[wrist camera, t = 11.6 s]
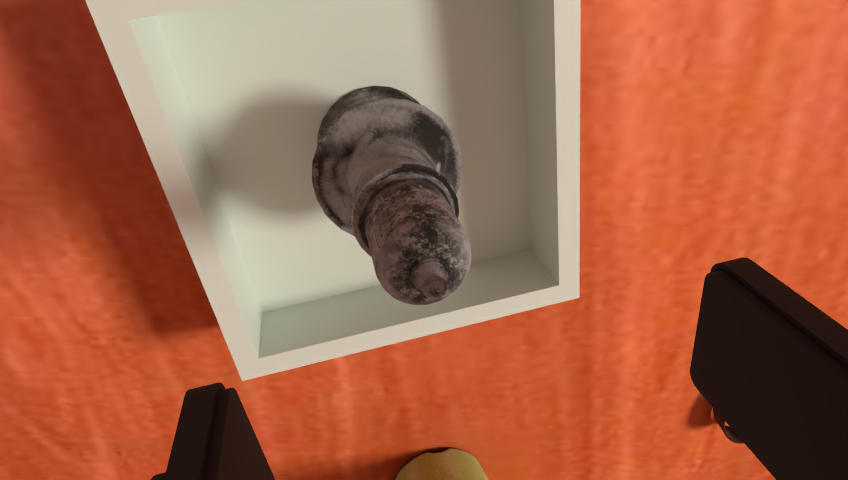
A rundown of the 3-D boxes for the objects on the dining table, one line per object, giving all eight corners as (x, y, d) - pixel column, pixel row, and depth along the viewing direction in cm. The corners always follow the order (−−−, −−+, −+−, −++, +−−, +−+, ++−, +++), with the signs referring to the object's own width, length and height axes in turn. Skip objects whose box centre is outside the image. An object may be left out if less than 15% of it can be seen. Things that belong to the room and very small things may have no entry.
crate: (122, -18, 20) (81, -10, 16) (529, -84, 22) (580, -91, 18) (249, 321, 28) (242, 381, 24) (542, 252, 30) (579, 297, 26)
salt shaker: (300, 196, 24) (302, 379, 14) (321, 64, 22) (343, 168, 12) (424, 214, 26) (508, 389, 16) (457, 93, 24) (580, 206, 13)
